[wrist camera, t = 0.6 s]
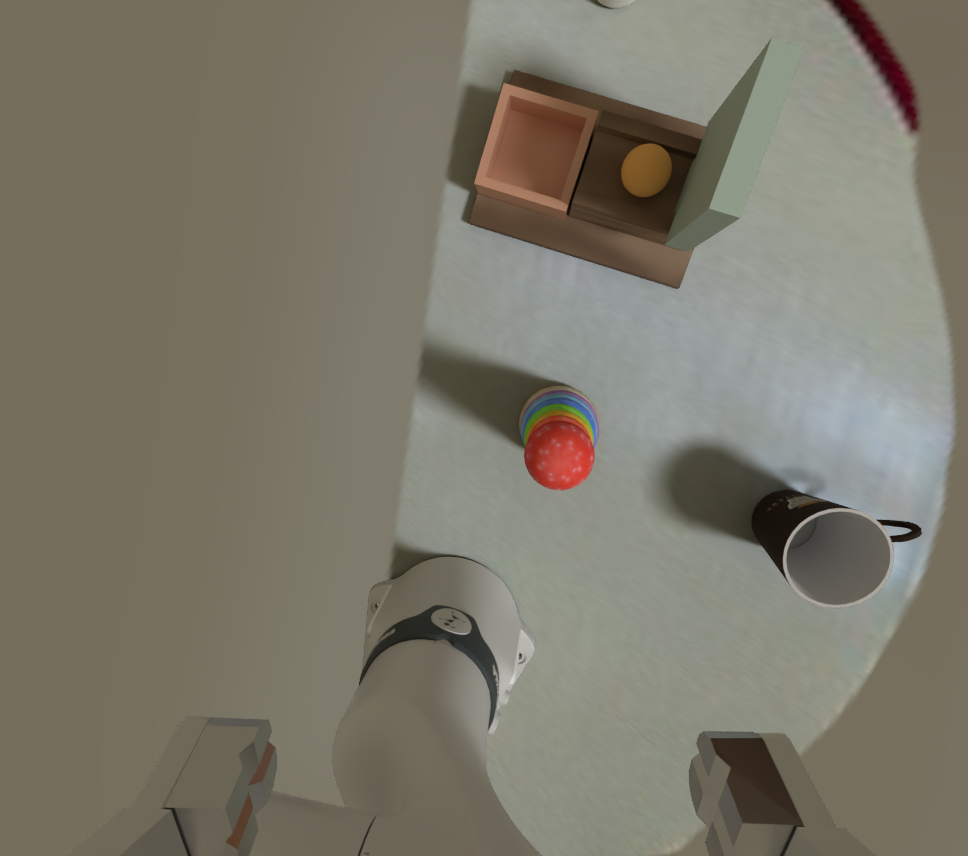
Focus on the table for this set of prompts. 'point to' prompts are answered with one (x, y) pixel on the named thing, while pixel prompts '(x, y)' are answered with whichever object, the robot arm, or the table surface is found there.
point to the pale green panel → (734, 148)
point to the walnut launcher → (608, 192)
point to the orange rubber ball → (646, 170)
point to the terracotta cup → (535, 151)
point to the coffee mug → (827, 547)
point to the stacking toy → (559, 436)
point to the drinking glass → (616, 3)
